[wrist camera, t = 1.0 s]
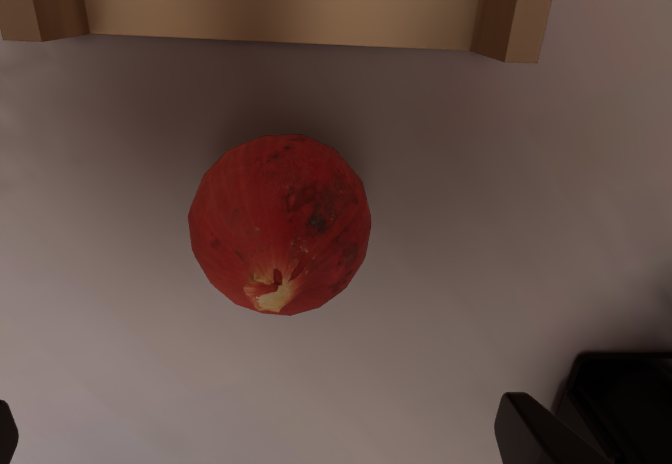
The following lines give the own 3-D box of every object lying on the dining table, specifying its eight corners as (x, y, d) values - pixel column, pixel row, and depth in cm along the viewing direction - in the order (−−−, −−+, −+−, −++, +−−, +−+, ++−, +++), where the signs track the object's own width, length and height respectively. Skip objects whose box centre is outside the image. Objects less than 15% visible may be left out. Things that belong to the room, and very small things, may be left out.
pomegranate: (289, 77, 17) (277, 137, 10) (387, 187, 19) (436, 301, 12) (182, 179, 18) (104, 296, 11) (284, 270, 20) (273, 416, 13)
